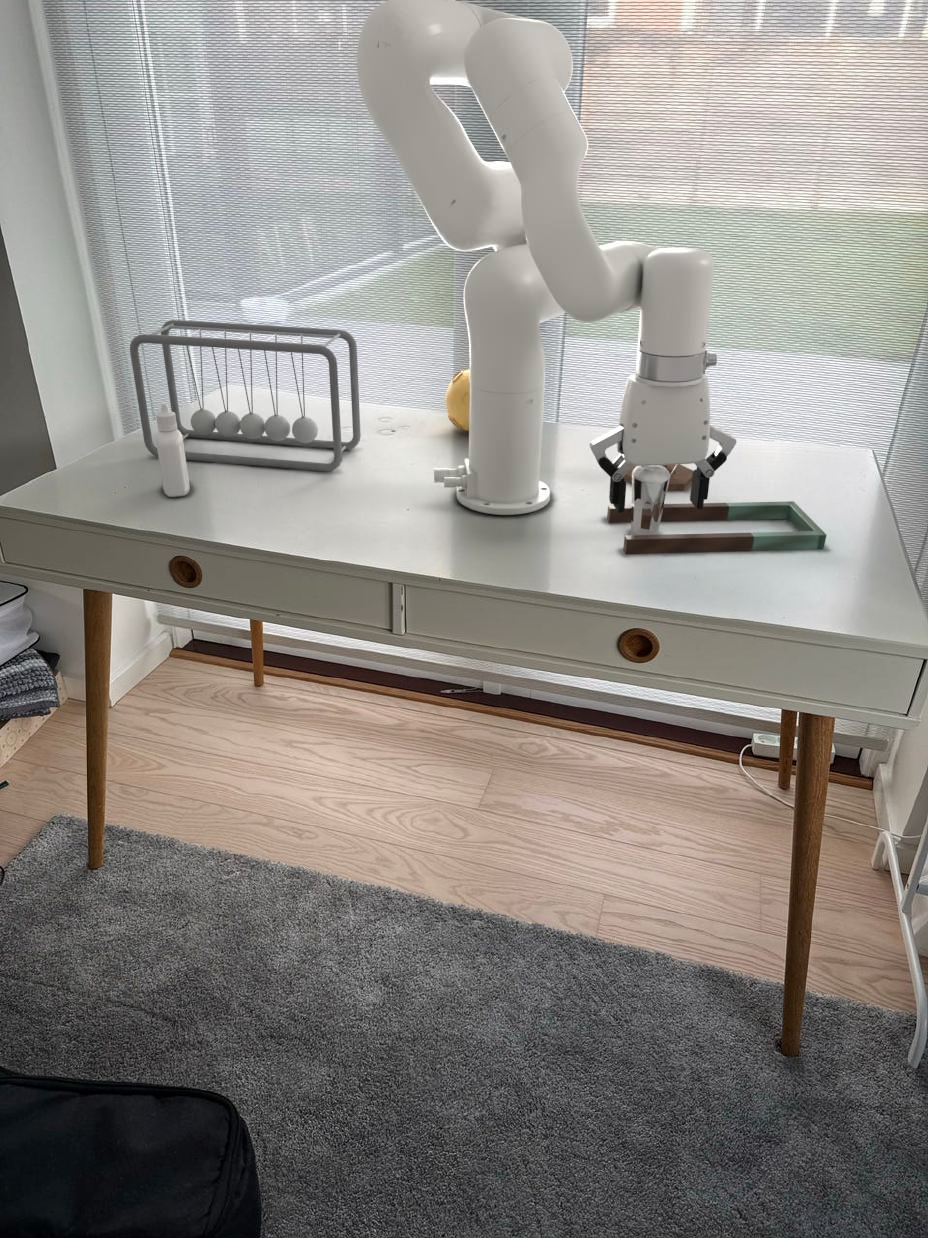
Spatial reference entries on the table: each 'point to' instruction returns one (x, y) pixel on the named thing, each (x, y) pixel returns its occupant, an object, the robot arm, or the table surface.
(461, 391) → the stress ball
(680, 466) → the robot figurine
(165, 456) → the eye dropper bottle
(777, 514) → the slide track
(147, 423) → the newton's cradle
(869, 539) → the table surface
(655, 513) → the milkshake
